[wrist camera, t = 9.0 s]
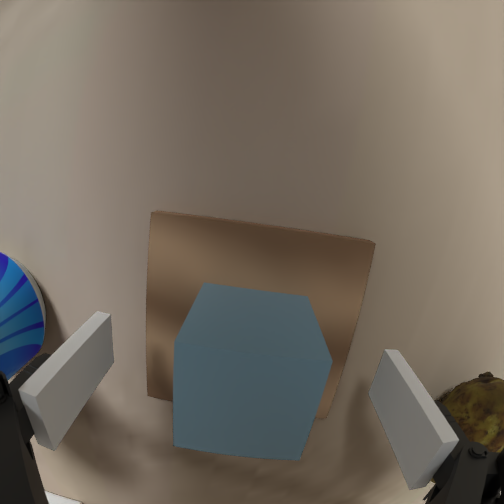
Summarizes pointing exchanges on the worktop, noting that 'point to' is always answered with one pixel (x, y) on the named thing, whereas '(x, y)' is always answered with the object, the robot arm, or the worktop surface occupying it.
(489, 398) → the brown oval lump
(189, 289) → the tan square panel
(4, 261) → the beer can
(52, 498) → the medicine bottle
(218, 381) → the light blue chamfered box
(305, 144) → the worktop surface
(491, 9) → the worktop surface
